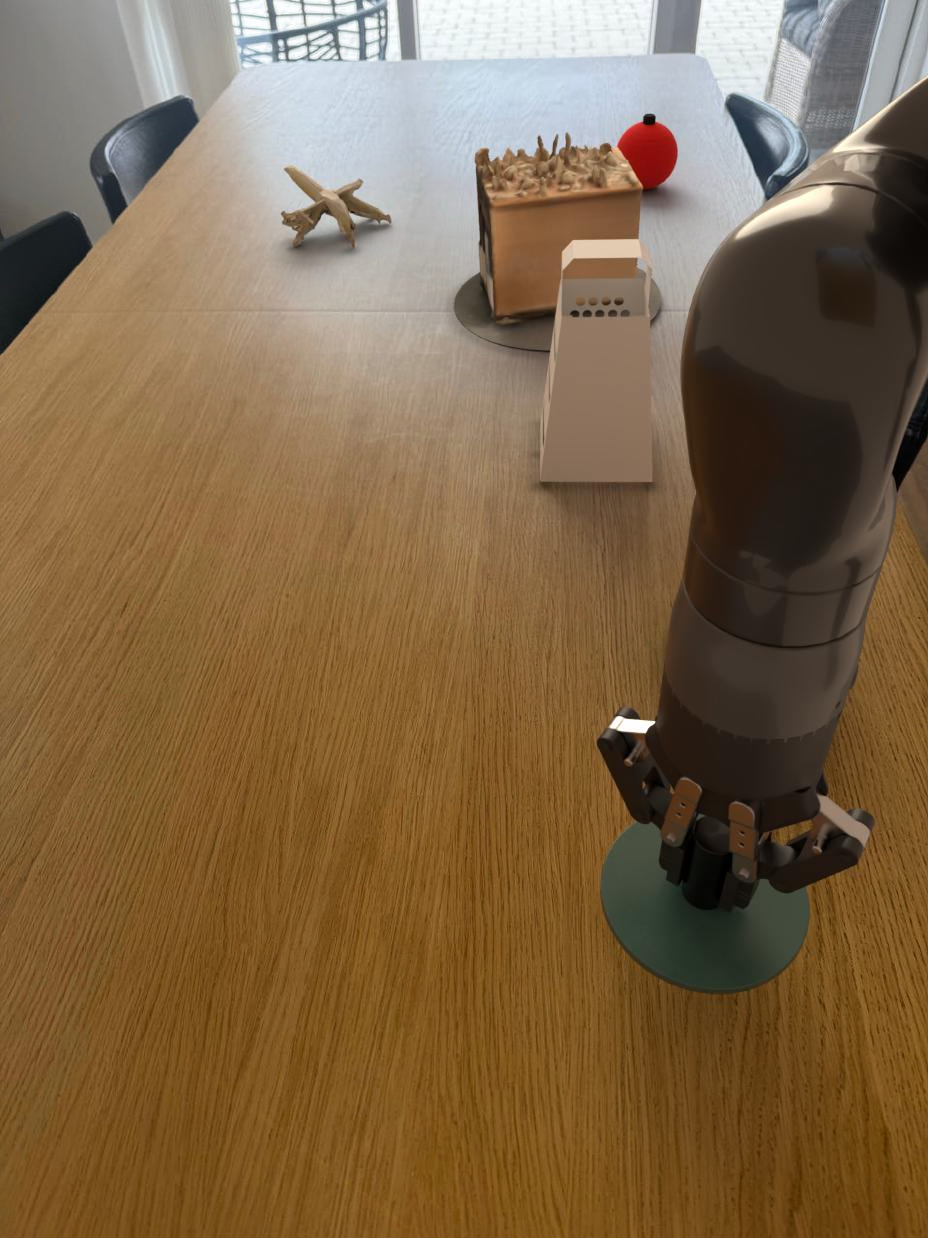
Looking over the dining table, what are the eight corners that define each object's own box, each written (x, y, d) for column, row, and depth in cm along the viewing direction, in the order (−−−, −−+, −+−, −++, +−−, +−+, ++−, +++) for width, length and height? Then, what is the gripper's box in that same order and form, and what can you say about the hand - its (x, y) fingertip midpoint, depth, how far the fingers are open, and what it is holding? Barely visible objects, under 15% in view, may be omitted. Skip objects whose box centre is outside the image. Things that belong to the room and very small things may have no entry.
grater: (540, 421, 99) (543, 224, 85) (644, 420, 98) (664, 222, 84) (539, 481, 91) (543, 276, 77) (652, 482, 90) (676, 275, 77)
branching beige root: (312, 281, 130) (240, 208, 132) (387, 263, 141) (319, 195, 143) (335, 228, 124) (259, 151, 126) (411, 213, 135) (340, 142, 137)
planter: (556, 375, 105) (561, 199, 92) (412, 302, 119) (399, 140, 106) (703, 300, 116) (726, 133, 103) (556, 241, 130) (560, 88, 117)
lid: (834, 874, 55) (862, 804, 50) (759, 1042, 48) (783, 979, 43) (653, 788, 59) (663, 717, 55) (563, 931, 53) (565, 864, 48)
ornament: (679, 196, 140) (688, 122, 133) (618, 200, 140) (623, 126, 133) (667, 174, 147) (675, 102, 140) (608, 177, 147) (613, 106, 140)
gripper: (566, 658, 41) (559, 876, 53) (899, 800, 35) (807, 1009, 47) (644, 560, 46) (621, 782, 58) (952, 671, 40) (856, 893, 52)
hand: (705, 884), depth 52 cm, fingers closed on lid, 2 cm apart
